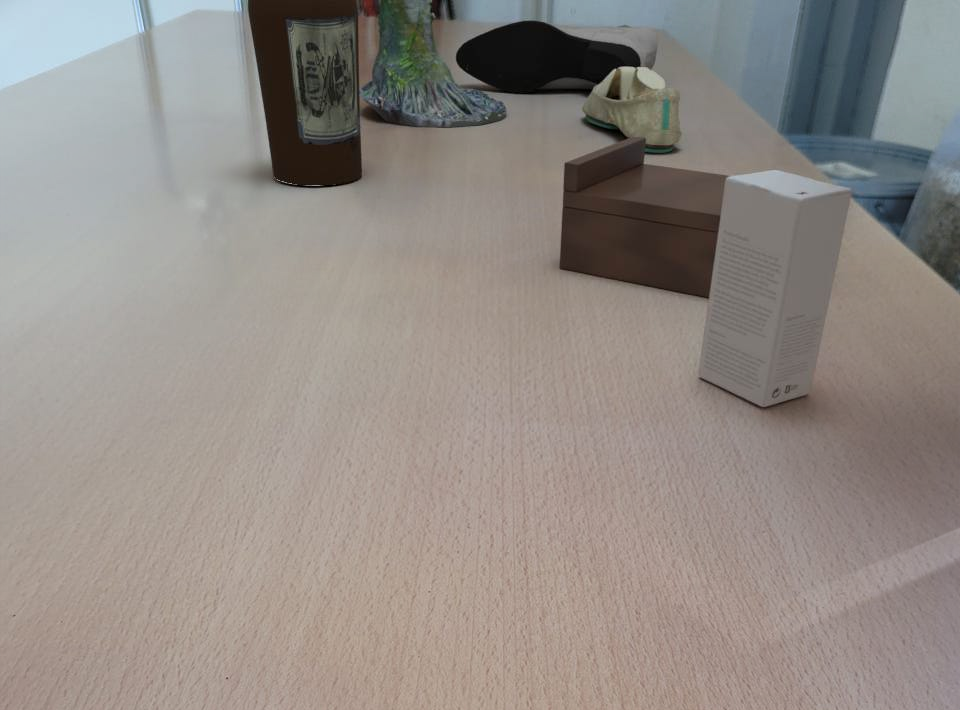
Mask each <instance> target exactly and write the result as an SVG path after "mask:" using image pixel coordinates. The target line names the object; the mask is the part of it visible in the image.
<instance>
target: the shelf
mask: <svg viewBox="0 0 960 710" xmlns="http://www.w3.org/2000/svg"><path fill="white" fill-rule="evenodd" d="M645 145H646V138H642V137H635V136H634V137H631V138H629V139H628V138H626V139H623V140H621V141H618V142H615V143H613V144H610V145H608V146H605V147H603V148H600V149H596V150H595V151H591V152H589V153H587V154H584V155H582V156H579V157H577V158H574V159H571V160H568V161H566V162H564V166H563V167H564V169H563V184H562V185H563V187H562V188H563V189H562V190H563V191H562V210H561V211H562V212H561V229H560V249H559V269H562V270H568V271H573V272H578V273H583V274H587V275H588V274H589V275H593V276H598V277H601V278H608V279H613V280H618V281H622V282H627V283H633V284H638V285H642V286H648V287H653V288H658V289H662V290H667V291H668V290H669V291H674V292H677V293H683V294H688V295H693V296H698V297H702V298H703V297H704V298H708V299H709V295H710V288H711V281H712V273H713V266H714V260H715V252H716V245H717V238H718V231H719V224H720V216H721V209H722V201H723V194H724V186H725V180H726V178H727V177H729V176H730V175H727V174H721V173H720V174H719V173H712V172H705V171H699V170H691V169H685V168H684V169H683V168H677V167H669V166H663V165H662V166H661V165H657V164H656V165H655V164H649V163H645V156H646V155H645V154H646V152H645Z"/></svg>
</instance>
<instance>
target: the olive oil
mask: <svg viewBox="0 0 960 710" xmlns="http://www.w3.org/2000/svg"><path fill="white" fill-rule="evenodd" d="M247 13H248V14H247V15H248V20H249V26H250V33H251V38H252V43H253V50H254V56H255V62H256V68H257V74H258V80H259V85H260V94H261V100H262V106H263V112H264V119H265V125H266V132H267V139H268V146H269V153H270V161H271V167H272V174H273V178H274V177H275V178H276V179H278V180H280V181H284V182H287V183H292V184H297V185H332V186H335V185H334V184H339V185H344V184H348V183H349V184H350V183H352V182H354V181H357V180H358V179H360V178H361V177H362V175H363V161H362V160H363V159H362V136H361V103H360V102H361V100H360V98H361V96H360V95H359V94H360V93H359V91H360V54H359V53H360V52H359V51H360V50H359V49H360V48H359V47H360V46H359V44H360V43H359V7H358V1H357V0H247ZM275 178H274V179H275ZM276 179H275V180H276ZM343 183H344V184H343Z"/></svg>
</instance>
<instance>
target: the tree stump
mask: <svg viewBox="0 0 960 710" xmlns="http://www.w3.org/2000/svg"><path fill="white" fill-rule="evenodd" d="M432 4H433V0H378V8H379V14H378V15H377V19H378V21H377V25H378V27H379V28H378V36H379V41H378V51H377V54H376V57H375V59H374V63H373V66H372V71H371V76H372V77H371V78H372V80H370V81H368V82H367V83H365V84H364V85H363V86H362V87H361V89H359V96H360V98H361V99H362V100H363V101H364V102H365V103H367V104H368V105H369V106H370V107H371V108H372V109H373V110H374V111H375V112H376V113H377V114H378V115H379V116H380V117H381V118H382V119H383V120H384V122H387V123H391V124H395V125H403V126H411V127H419V128H421V127H423V128H424V127H426V128H427V127H429V128H430V127H431V128H432V127H433V128H456V127H457V128H459V127H470V126H483V125H486V124H490V123H494V122H498V121H501V120H503V119H504V118H505V117H506V116H507V107H506V105H505V103H504V102H503V101H502V100H496V99H495V98H493V97H491V96H490V95H489V94H488V93H484V92H483V91H482V90H480V89H479V90H476V89H474V88H465V89H462V88H460V87H459V85H458V83H456V82H455V80H454V78H453V75H452V72H451V70H450V68H449V66H448V65H447V63H446V62H445V61H444V59H442V58H441V56H440V55H439V53H438V49H437V45H436V39H435V36H434V30H433V22H434V20H435V19H436V15H435V13H434V12H431V9H432Z"/></svg>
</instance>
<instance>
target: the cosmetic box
mask: <svg viewBox="0 0 960 710" xmlns="http://www.w3.org/2000/svg"><path fill="white" fill-rule="evenodd" d="M728 176H729V177H727V178H726V180H725V186H724V194H723V201H722V209H721V216H720V224H719V231H718V238H717V245H716V252H715V260H714V266H713V273H712V281H711V288H710V295H709V298H708V303H707V309H706V315H705V324H704V331H703V339H702V345H701V353H700V358H699V359H700V360H699V367H698V373H697V374H698V377H699V378H701V379H702V380H705V381H707V382H709V383H711V384H713V385H715V386H718V387H720V388H722V389H724V390H726V391H728V392H730V393H732V394H734V395H736V396H738V397H740V398H743V399H744V400H747V401H749V402H750V403H753V404H755V405H757V406H759V407H761V408H766V407H771V406H773V405H777V404H780V403H784V402H786V401H790V400H793V399H797V398H800V397H805V396H807V395H809V394H810V393H811V391H812V386H813V381H814V375H815V371H816V367H817V362H818V357H819V353H820V348H821V343H822V339H823V334H824V329H825V324H826V318H827V315H828V314H827V313H828V310H829V305H830V300H831V295H832V291H833V285H834V281H835V275H836V271H837V265H838V261H839V257H840V252H841V248H842V243H843V236H844V232H845V228H846V227H845V226H846V223H847V218H848V213H849V210H850V209H849V208H850V204H851V199H852V195H853V194H852V193H853V190H852V188H849V187H846V186H842V185H837V184H833V183H828V182H825V181H820V180H817V179H813V178H811V177H805V176H802V175H798V174H795V173H791V172H786V171H783V170H779V169H771V170H765V171H757V172H752V173H744V174H738V175H737V174H736V175H728Z"/></svg>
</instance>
